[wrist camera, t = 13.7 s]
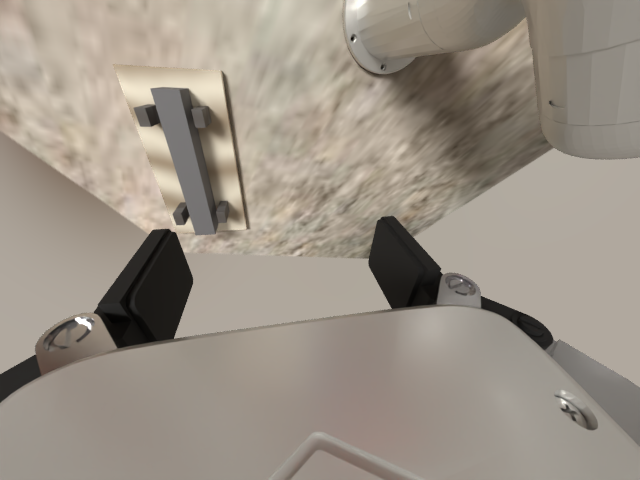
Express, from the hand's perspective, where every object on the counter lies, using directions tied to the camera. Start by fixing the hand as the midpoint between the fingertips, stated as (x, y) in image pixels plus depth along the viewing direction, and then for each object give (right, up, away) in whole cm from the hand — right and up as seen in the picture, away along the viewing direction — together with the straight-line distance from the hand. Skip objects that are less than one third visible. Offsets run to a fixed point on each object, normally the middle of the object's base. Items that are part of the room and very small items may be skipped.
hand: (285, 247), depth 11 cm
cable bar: (-17, +12, +24) cm, 32 cm away
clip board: (-18, +12, +25) cm, 33 cm away
